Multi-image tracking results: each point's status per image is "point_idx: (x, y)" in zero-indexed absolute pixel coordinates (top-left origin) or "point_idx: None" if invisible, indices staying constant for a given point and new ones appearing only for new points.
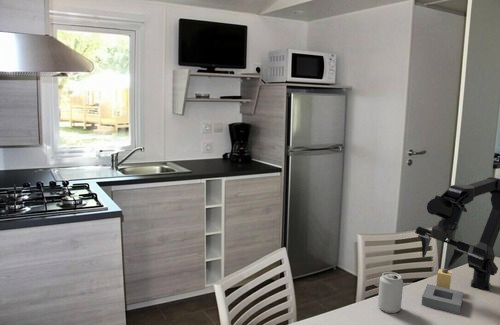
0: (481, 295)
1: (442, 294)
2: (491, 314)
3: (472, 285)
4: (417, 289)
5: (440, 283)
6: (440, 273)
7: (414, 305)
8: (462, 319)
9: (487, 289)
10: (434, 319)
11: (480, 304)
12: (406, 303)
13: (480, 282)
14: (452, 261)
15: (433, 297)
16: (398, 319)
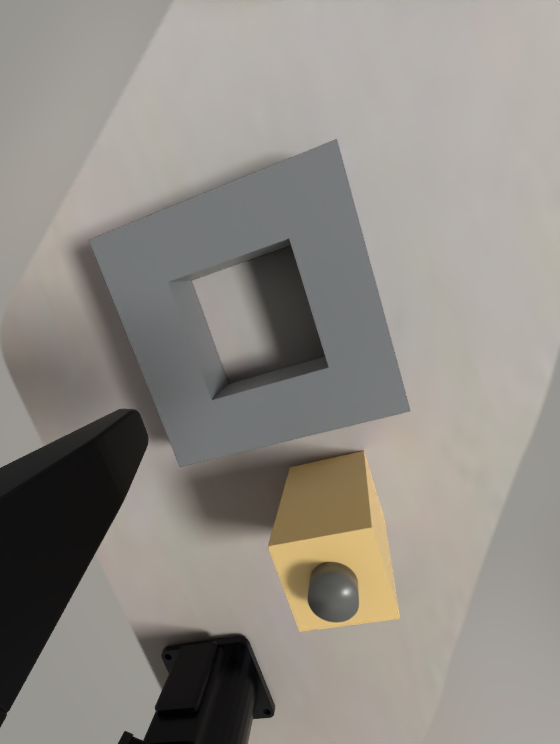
0: (164, 568)
1: (280, 374)
2: (32, 387)
3: (237, 644)
4: (464, 376)
5: (340, 484)
6: (348, 531)
7: (369, 101)
8: (82, 191)
9: (170, 647)
10: (179, 19)
11: None
12: (428, 76)
13: (188, 671)
14: (8, 464)
15: (268, 204)
16: None
